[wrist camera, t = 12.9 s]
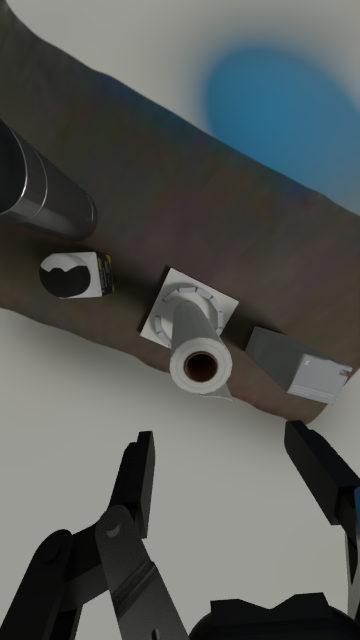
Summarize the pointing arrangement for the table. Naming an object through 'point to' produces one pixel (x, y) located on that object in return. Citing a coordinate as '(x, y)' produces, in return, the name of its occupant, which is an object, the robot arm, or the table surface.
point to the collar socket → (181, 291)
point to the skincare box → (297, 366)
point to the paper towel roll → (198, 354)
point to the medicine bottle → (77, 274)
